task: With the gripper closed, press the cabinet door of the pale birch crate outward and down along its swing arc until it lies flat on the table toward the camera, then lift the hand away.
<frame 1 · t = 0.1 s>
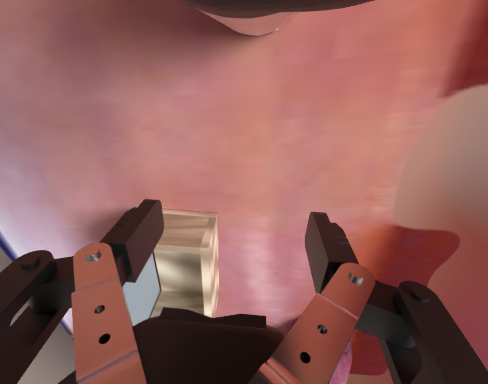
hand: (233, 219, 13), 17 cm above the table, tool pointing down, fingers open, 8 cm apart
crate: (185, 255, 39), on the table
vegetable: (319, 326, 48), on the table
cabinet door: (135, 283, 34), point 6 cm above the table, hinge at 0.0°
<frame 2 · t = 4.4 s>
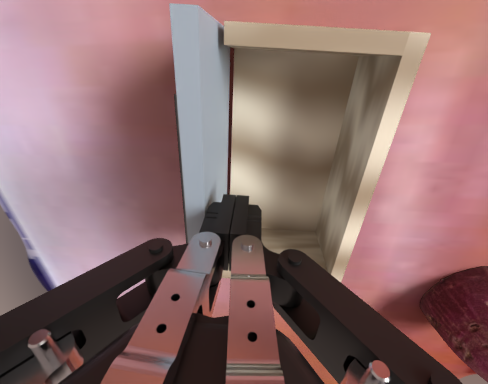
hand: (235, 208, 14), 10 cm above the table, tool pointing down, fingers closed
crate: (283, 152, 22), on the table
vegetable: (464, 294, 30), on the table
cabinet door: (210, 176, 17), point 6 cm above the table, hinge at 0.7°, touching gripper
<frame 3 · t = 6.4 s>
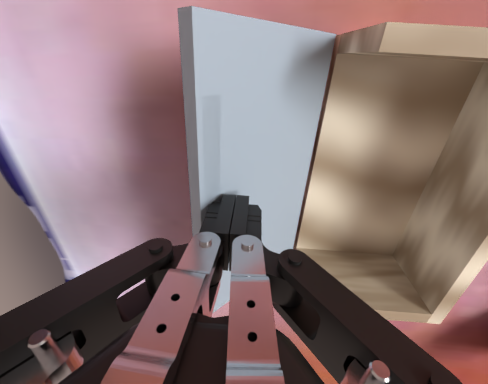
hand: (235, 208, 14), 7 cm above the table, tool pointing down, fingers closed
crate: (367, 169, 20), on the table
cabinet door: (258, 185, 16), point 4 cm above the table, hinge at 44.8°, touching gripper
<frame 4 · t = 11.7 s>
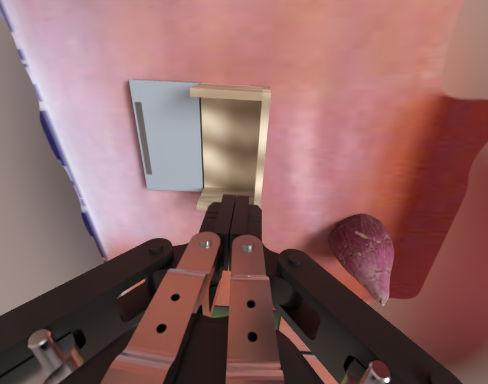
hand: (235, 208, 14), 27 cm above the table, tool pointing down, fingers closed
crate: (232, 143, 40), on the table
vegetable: (356, 234, 48), on the table
cabinet door: (171, 141, 40), point 1 cm above the table, hinge at 86.7°
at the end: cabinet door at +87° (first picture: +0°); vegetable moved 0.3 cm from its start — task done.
